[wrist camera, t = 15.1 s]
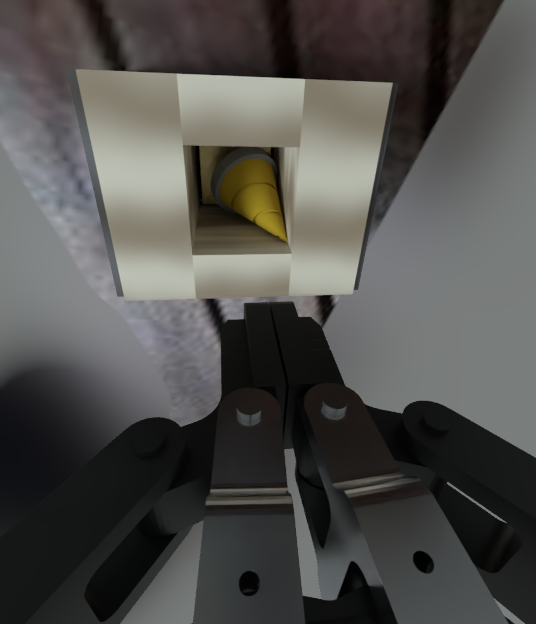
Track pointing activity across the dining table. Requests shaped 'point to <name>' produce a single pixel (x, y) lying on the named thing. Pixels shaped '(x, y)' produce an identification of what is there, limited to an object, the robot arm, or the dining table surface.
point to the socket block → (212, 218)
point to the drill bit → (250, 188)
